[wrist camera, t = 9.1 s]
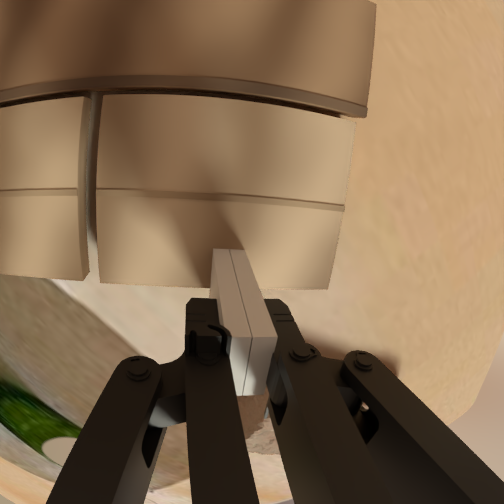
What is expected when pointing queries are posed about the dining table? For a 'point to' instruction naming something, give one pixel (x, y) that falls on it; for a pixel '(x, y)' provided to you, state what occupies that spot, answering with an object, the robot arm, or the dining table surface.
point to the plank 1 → (44, 189)
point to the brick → (259, 424)
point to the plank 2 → (218, 190)
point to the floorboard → (191, 49)
